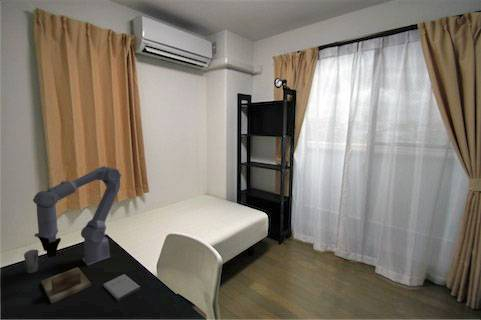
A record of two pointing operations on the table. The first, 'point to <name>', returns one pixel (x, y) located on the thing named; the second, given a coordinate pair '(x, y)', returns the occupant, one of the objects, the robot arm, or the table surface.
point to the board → (55, 297)
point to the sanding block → (65, 281)
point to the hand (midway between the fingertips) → (49, 253)
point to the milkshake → (31, 260)
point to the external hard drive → (121, 287)
